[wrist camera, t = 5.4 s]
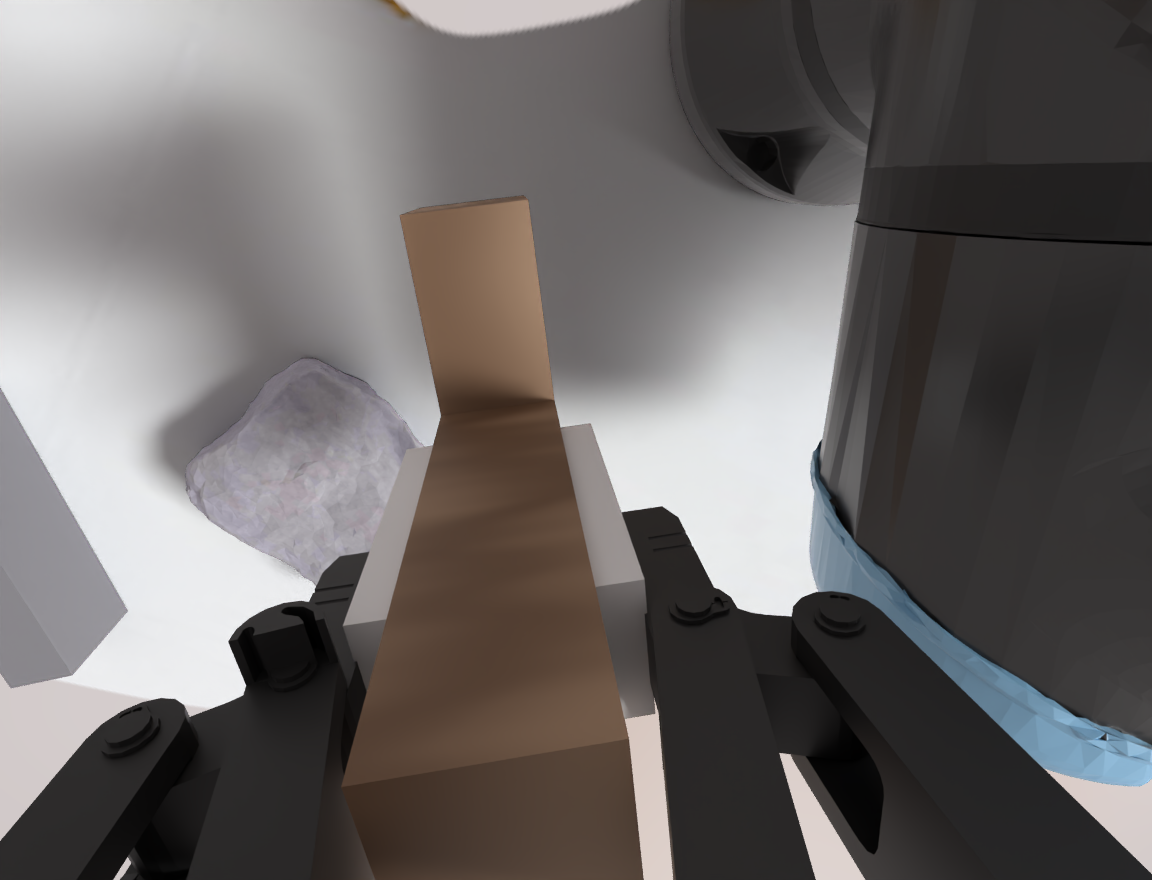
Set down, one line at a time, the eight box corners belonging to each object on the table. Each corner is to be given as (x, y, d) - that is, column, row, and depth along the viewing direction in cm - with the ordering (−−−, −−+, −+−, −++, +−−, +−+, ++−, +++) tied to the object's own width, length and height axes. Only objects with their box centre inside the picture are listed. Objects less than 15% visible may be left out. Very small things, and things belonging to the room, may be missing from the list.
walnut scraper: (523, 195, 18) (577, 246, 5) (572, 566, 24) (668, 1114, 10) (420, 207, 18) (162, 298, 5) (492, 578, 23) (474, 1153, 10)
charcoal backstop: (-6, 377, 30) (-98, 413, 25) (127, 611, 36) (72, 675, 31) (-70, 389, 30) (-173, 428, 25) (74, 622, 35) (10, 688, 31)
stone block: (315, 327, 33) (183, 467, 33) (304, 338, 28) (151, 499, 28) (482, 469, 37) (366, 591, 37) (495, 497, 33) (363, 636, 33)
